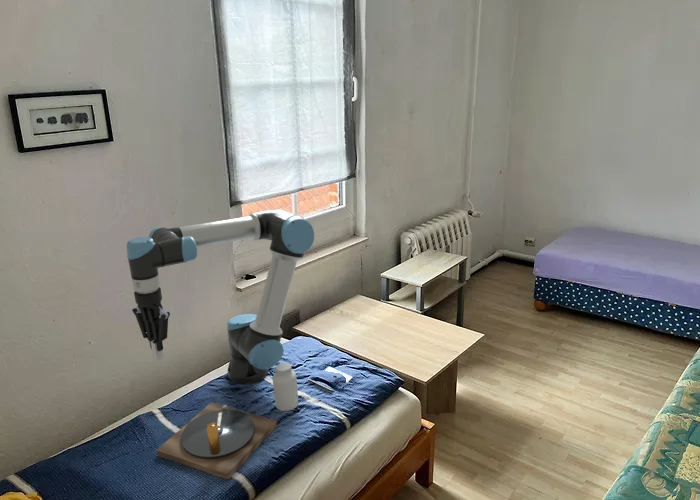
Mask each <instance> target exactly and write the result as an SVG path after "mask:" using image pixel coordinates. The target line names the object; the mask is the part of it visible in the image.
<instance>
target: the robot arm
mask: <svg viewBox="0 0 700 500" xmlns="http://www.w3.org/2000/svg"><path fill="white" fill-rule="evenodd" d="M249 239H253V240H254V241H258V240H267V241H271V243H270V246H269V251H270V253H271V255H272V256H271V260H270V264H269V268H268V272H267V275H266V279H265V283H264V287H263V291H262V295H261V298H260V302H259V306H258V310H257V313H256V314H254V313H245V314H239V315H235V316H233V317H232V318H230V319H229V320H228V321H227V324H226V327H227V330H226V331H227V336H228V344H229V353H230V354H229V355H230V359H229V363H228V367H227V376H228V379H229V380H230V381H232V382H234V383H236V384H253V383H256V382H259V381H261V380H263V379H265V377H267V376H268V374H269V372H270V371H269V369H272V368H274V366H277V365H278V364H279V362H280V361H281V360H282V358H283V356H284V347H283V344H282V342H281V340H282V336H283V330H282V328H281V323H282V320H283V319H282V318H283V316H284V311H285V308H286V304H287V300H288V297H289V291H290V289H291V285H292V281H293V277H294V274H295V271H296V267H297V263H298V262H299V261H300V260H301V259H303V257H304V254H305V253H306V252H307V251H308V250H310V249H311V247H312V246H313V244H314V241H315V231H314V228H313V226H312V224H311V223H310V221H308V220H307V219H306V218H304V217H302V216H300V215H298V214H294V213H292V212H290V211H287V210H285V209H271V210H263V211H258V212H252V213H250V214H249V215H248V216H243V217H239V218H238V217H237V218H232V219H231V218H230V219H224V220H217V221H212V222H211V221H209V222H205V223H197V224H191V225H185V226H184V225H183V226H179V227H171V228H168V227H164V226H157V227H155V228H153V229H151V231H150V232H149V234H148V236H142V237H141V236H139V237H134V238H132V239H130V240H128V241H127V242H126V252H127V253H126V255H127V261H128V265H129V271H130V276H131V282H132V288H133V291H134V292H133V295H134V299H135V304H137V306H136V307H133V308H132V310H131V311H132V313H133V314H134V316H135V318H136V321H137V324H138V326H139V329H140V332H141V336H142V338H143V339H147V340H148V342H149V347H150V350H151V353H152V357H153V361H154V362H159V361H161V360H162V359H163V358H164V352H163V351H164V345H163V341H165V340H166V339H168V329H169V318H170V315H171V312H170V311H165V310H164V306H163V305H162V299H163V295H162V288H161V282H160V275H159V268H164V267H169V266H173V265H178V264H182V263H188V262H190V261H194V260H195V259H197V257H198V248H200V247H207V246H212V245H219V244H224V243H225V244H226V243H229V242H230V243H231V242H236V241H242V240H249Z"/></svg>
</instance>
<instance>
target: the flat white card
mask: <svg viewBox="0 0 700 500" xmlns="http://www.w3.org/2000/svg"><path fill="white" fill-rule="evenodd" d="M324 371H328V372H334V373H340V374H342V375H343V376H344V377H345V378H346V382H345V383H349V381H351V379H353V376H352V375H349V374H347V373H345V372H343V371H340V370H338V369H336V368H334V367H331V366H328V367H327V368H326V369H325V370H324ZM333 375H334V374H333ZM336 377H337V375H336ZM308 380H309V381H311V382H314V383H315V384H317V385H319V386H322V387H323V388H326V389H327V390H330V391H335V390H333V389H331V388H329V387H327V386H325V385H323V384H321V383H319V382H317V381H315V380H313V379H310V378H308Z"/></svg>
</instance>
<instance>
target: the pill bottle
mask: <svg viewBox="0 0 700 500" xmlns="http://www.w3.org/2000/svg"><path fill="white" fill-rule="evenodd" d="M297 379H298V378H297V374H296V372H295V371H294V370H293V369H292V364H290V363H289V362H281V363H277V364H276V365H275V372H274V374H273V375H272V384H273V385H272V386H273V397H274V405H275V408H276V409H277V410H279V411H282V412H289V411H292V410H294V409H296V408H297V407H298V405H299V391H298V380H297Z"/></svg>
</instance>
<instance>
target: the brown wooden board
mask: <svg viewBox="0 0 700 500" xmlns="http://www.w3.org/2000/svg"><path fill="white" fill-rule="evenodd" d="M225 409H230V410H237V411H241V412H243V413H245V414H247V415H248V416H250V417H251V419H252V420H253V423H254V435H253V437H252V439H251V440H250V442H249V443H248V444H247V445H246V446H245V447H243V448H242V449H240V450H239V451H237V452H235V453H233V454H231V455H228V456H225V457H221V458H214V459H204V458H198V457H194V456H192V455H190V454H188V453H187V452H186V451H185V450H184V448H183V446H182V442H181V435H182V432H183V430H184V429H185V427H186V426H187V425H188V424H189V423H190V422H191V421H193V420H194V419H195V418H197V417H199V416H201V415H203V414H206V413H208V412H212V411H216V410H225ZM277 426H278V419H277V420H276V419H274V418H273V419H272V418H270V417H267V416H262V415H259V414H255V413H251V412H247V411H244V410H241V409H237V408H233V407H230V406H228V404H220V403H215V402H210V403H209V404H207V405H206V406H205V407H204V408H203V409H202V410H201V411H200V412H198V413H197V414H196V415H195V416H194V417H193V418H192V419H190V420H189V421H188V422H187V423H186V424H184V425H183V426H182V427H181V428H180V429H179V430H177V431H176V432H175V433H174V434H173V435H172V436H171V437H169V438H168V439H167V440H166V441H165V442H164V443H163V444H161V445H160V446H159V447H158V448H157V449H156V450H155V451H156V456H158V457H161V458H163V459H166V460H168V461H171V462H175V463H178V464H180V465H184V466H186V467H189V468H192V469H195V470H198V471H201V472H205V473H206V474H210V475H213V476H216V477H218V478H221V477H223V478H222V479H224V478H226V479H225V480H227V479H231V478H232V477H233V475H234V474H235V473H236V472H237V471H238V469H239V468H241V467H242V465H244V463H245V462H246V461H247V460H248V459H249V458H250V456H251V455H252V454H253V453H255V451H256V450H257V449H258V447H259V446H260V445H262V443H263V442H264V441H266V439H267V438H268V437H269V435H270V434H271V433H272V432H273V431H274V430H275V429H276V428H277Z"/></svg>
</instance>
